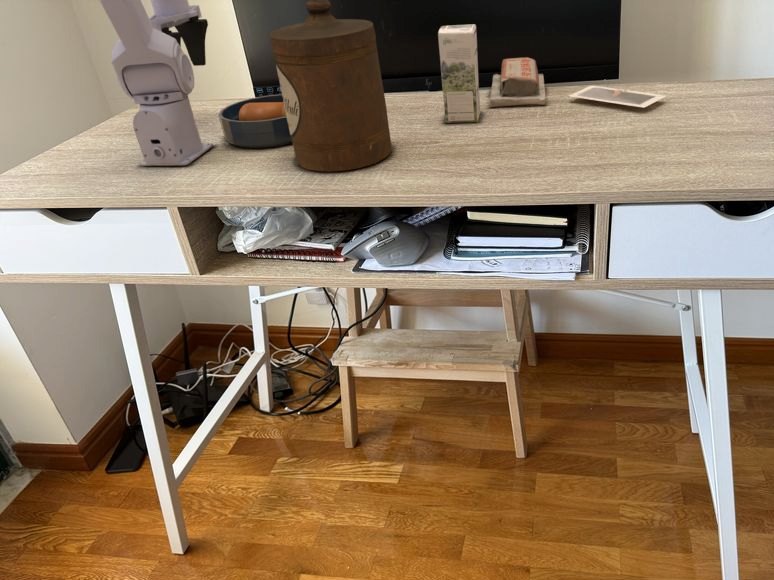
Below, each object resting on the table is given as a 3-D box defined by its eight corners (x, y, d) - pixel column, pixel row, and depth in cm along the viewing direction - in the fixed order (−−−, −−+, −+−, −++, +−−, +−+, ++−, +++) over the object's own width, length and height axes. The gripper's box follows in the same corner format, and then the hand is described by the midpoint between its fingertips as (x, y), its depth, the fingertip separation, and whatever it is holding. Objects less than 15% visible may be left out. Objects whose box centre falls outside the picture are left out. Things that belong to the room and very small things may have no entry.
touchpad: (643, 114, 112) (644, 100, 111) (567, 102, 120) (568, 89, 119) (666, 102, 117) (667, 89, 115) (591, 91, 125) (592, 79, 124)
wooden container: (309, 141, 111) (279, -8, 99) (398, 137, 110) (379, -14, 97) (284, 175, 99) (246, 9, 87) (383, 170, 98) (360, 2, 85)
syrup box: (481, 112, 118) (476, 22, 110) (478, 123, 114) (473, 29, 105) (448, 114, 119) (441, 24, 111) (444, 124, 114) (437, 31, 106)
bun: (308, 125, 117) (303, 98, 114) (298, 134, 113) (293, 106, 110) (249, 126, 119) (242, 99, 116) (238, 135, 115) (230, 107, 112)
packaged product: (492, 56, 132) (543, 54, 131) (493, 82, 135) (543, 80, 134) (488, 80, 117) (546, 77, 117) (489, 108, 120) (546, 106, 119)
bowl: (301, 149, 108) (295, 121, 106) (209, 150, 111) (201, 122, 109) (332, 119, 121) (328, 93, 119) (249, 120, 124) (243, 95, 121)
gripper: (163, -12, 104) (190, 80, 112) (207, -25, 116) (228, 60, 123) (122, -10, 105) (151, 81, 113) (170, -23, 117) (193, 61, 125)
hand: (189, 70), depth 118 cm, fingers open, 7 cm apart
